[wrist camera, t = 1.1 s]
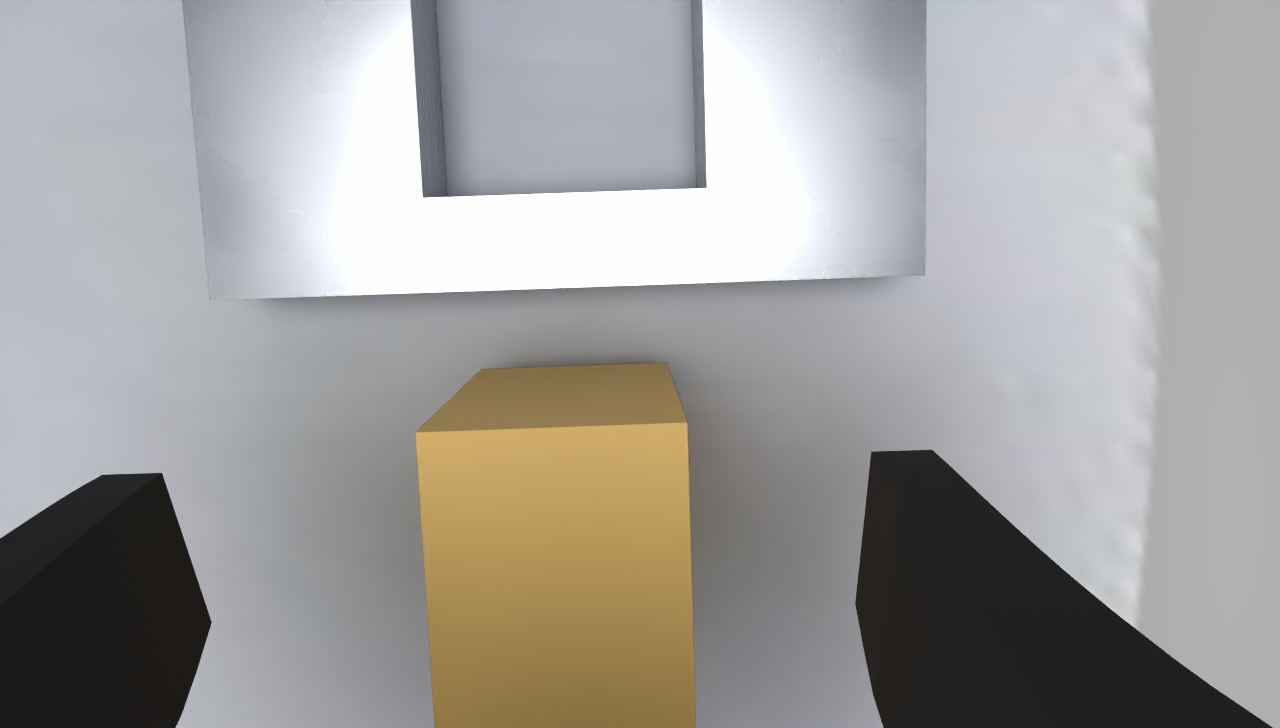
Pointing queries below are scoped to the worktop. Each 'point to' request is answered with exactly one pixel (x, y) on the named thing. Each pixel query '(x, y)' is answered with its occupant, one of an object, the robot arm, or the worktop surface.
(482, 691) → the tan rectangular block
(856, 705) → the worktop surface
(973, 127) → the worktop surface
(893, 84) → the recessed gray tray
